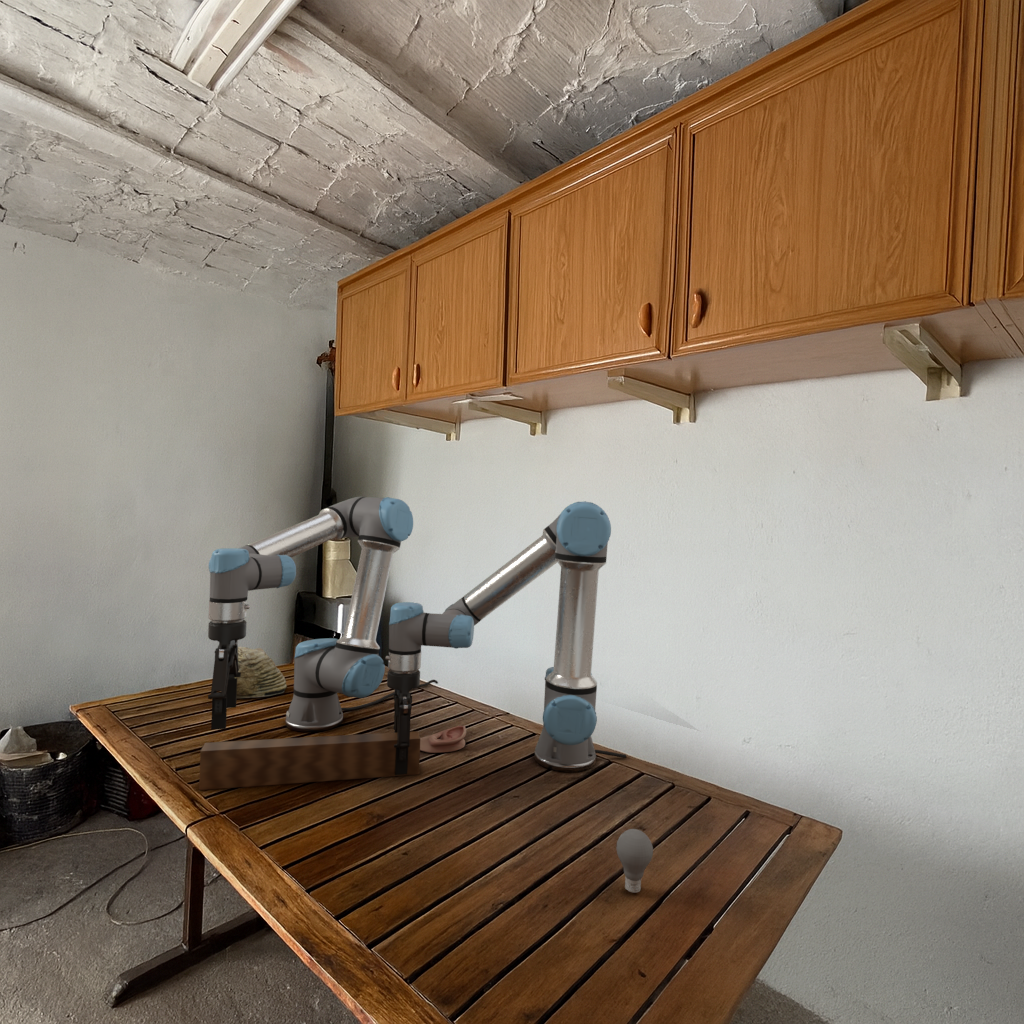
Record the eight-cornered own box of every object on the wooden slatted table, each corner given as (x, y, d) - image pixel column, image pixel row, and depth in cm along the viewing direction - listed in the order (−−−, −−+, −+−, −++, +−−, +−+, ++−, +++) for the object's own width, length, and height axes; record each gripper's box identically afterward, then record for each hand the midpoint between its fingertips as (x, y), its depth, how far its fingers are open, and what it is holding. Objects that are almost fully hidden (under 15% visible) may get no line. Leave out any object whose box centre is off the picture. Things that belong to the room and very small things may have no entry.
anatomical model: (407, 734, 160) (423, 719, 171) (406, 749, 160) (422, 733, 171) (458, 740, 157) (470, 724, 168) (457, 756, 157) (469, 739, 168)
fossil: (218, 695, 195) (220, 647, 195) (278, 685, 208) (279, 640, 207) (228, 703, 189) (230, 653, 188) (289, 692, 201) (290, 645, 201)
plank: (199, 790, 134) (200, 751, 134) (203, 780, 139) (204, 742, 139) (418, 774, 147) (420, 738, 146) (416, 765, 151) (417, 731, 151)
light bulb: (610, 879, 108) (613, 822, 108) (644, 879, 109) (647, 822, 109) (619, 902, 102) (622, 840, 102) (655, 901, 103) (658, 840, 103)
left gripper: (237, 632, 126) (233, 737, 126) (253, 609, 150) (250, 698, 150) (196, 632, 124) (192, 740, 124) (219, 609, 148) (216, 699, 148)
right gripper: (384, 660, 155) (381, 754, 155) (390, 681, 138) (386, 787, 138) (415, 659, 157) (411, 752, 157) (425, 679, 140) (420, 784, 140)
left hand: (224, 717), depth 137 cm, fingers open, 13 cm apart
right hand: (399, 768), depth 148 cm, fingers closed on plank, 5 cm apart
